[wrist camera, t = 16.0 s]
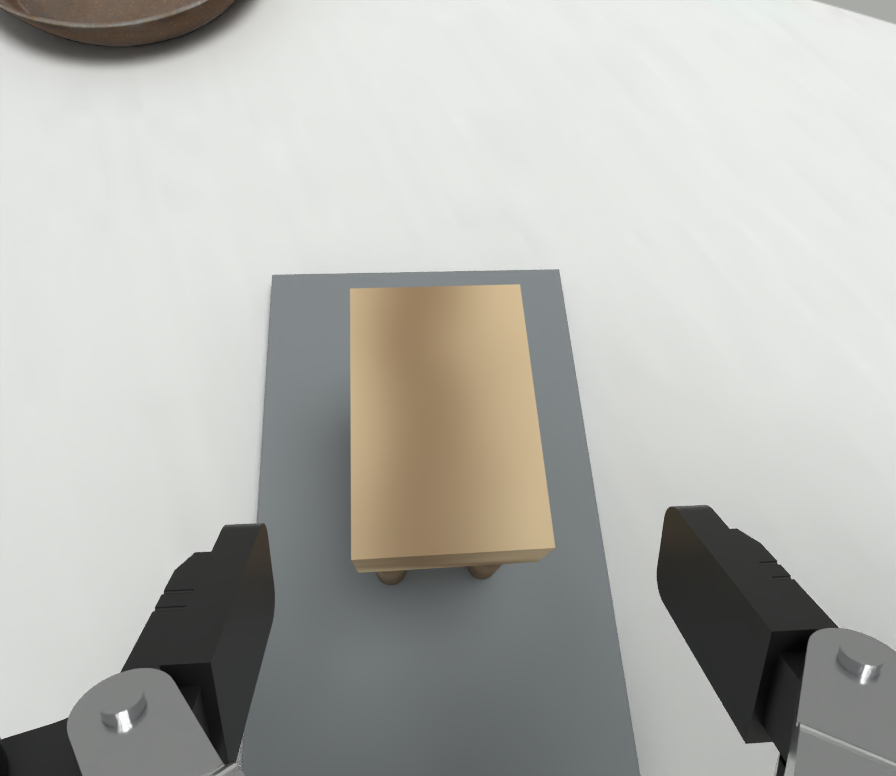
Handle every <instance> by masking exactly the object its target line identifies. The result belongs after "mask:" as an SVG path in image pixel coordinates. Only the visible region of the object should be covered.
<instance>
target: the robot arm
mask: <svg viewBox="0 0 896 776" xmlns="http://www.w3.org/2000/svg"><path fill="white" fill-rule="evenodd" d="M657 584H658V589H659V593H660V596H661V599H662V601H663V603H664V605H665V607H666V608H667V610H668V612H669V614H670V615H671V617H672V619H673V620H674V622H675V624H676V625H677V627H678V629H679V631H680V632H681V634H682V636H683V637H684V639H685V641H686V643H687V644H688V646H689V648H690V649H691V651H692V653H693V654H694V656H695V658H696V660H697V661H698V663H699V665H700V666H701V668H702V670H703V672H704V673H705V675H706V677H707V678H708V680H709V682H710V683H711V685H712V687H713V689H714V690H715V692H716V694H717V695H718V697H719V699H720V700H721V702H722V704H723V706H724V707H725V709H726V711H727V712H728V714H729V716H730V718H731V719H732V721H733V723H734V724H735V726H736V728H737V729H738V731H739V733H740V735H741V736H742V738H743V740H744V741H745V743H746V744H748V743H762V742H773V743H774V744H775V746H776V747H777V749H778V751H779V755H778V759H777V763H776V767H775V773H774V776H896V652H895V651H894V650H893V649H891V648H890V647H888V646H887V645H885V644H884V643H882V642H880V641H878V640H876V639H874V638H872V637H870V636H868V635H865V634H862V633H860V632H856V631H853V630H848V629H842V628H838V627H837V625H836V624H835V623H834V622H833V621H832V620H831V619H830V618H829V617H828V616H827V615H826V614H825V612H824V611H823V610H822V609H821V608H820V607H819V606H818V605H817V604H816V603H815V602H814V601H813V599H812V598H811V597H810V596H809V595H808V594H807V593H806V592H805V591H804V590H803V589H802V588H801V586H800V585H799V584H798V583H797V582H796V581H795V580H794V579H792V580H791V577H790V575H789V573H788V572H787V571H786V570H785V569H784V568H783V567H782V566H781V565H778V564H777V560H776V559H775V558H774V557H773V556H772V555H771V554H770V553H769V552H768V551H767V550H766V549H765V547H764V546H763V545H762V544H761V543H759V542H758V541H756V540H754V539H753V538H751V537H749V536H748V535H746V534H745V533H743V532H741V531H740V530H738V529H729V528H728V526H727V525H726V524H725V523H724V522H723V521H722V520H721V518H720V517H719V516H718V515H717V514H716V513H715V512H714V510H713V509H712V508H711V507H709V506H707V505H698V506H675V507H669V508H668V509H667V511H666V513H665V517H664V524H663V531H662V538H661V545H660V552H659V559H658V566H657ZM274 610H275V588H274V579H273V571H272V563H271V555H270V547H269V539H268V532H267V528H266V525H265V524H264V523H258V524H235V525H225V526H224V527H223V528H222V530H221V532H220V534H219V536H218V539H217V541H216V543H215V545H214V547H213V549H212V552H196V553H194V554H193V555H192V556H191V557H189V558H188V559H187V560H186V561H185V562H184V563H183V564H181V565H180V566H179V567H178V568H177V569H176V570H175V571H174V573H173V574H172V576H171V578H170V580H169V582H168V584H167V586H166V588H165V590H164V594H162V595H161V597H160V599H159V601H158V603H157V605H156V607H155V611H154V612H152V614H151V616H150V618H149V620H148V622H147V624H146V625H145V627H144V629H143V631H142V633H141V635H140V637H139V639H138V640H137V642H136V644H135V646H134V648H133V650H132V652H131V654H130V656H129V657H128V659H127V661H126V663H125V665H124V667H123V669H122V671H121V673H118V674H116V675H113V676H111V677H109V678H107V679H105V680H103V681H102V682H100V683H98V684H97V685H96V686H94V687H93V688H91V689H90V690H89V691H88V692H87V693H85V694H84V695H83V696H82V698H81V699H80V700H79V701H78V702H77V703H76V705H75V706H74V707H73V709H72V711H71V713H70V715H69V717H68V718H66V719H64V720H61V721H58V722H56V723H53V724H50V725H46V726H43V727H40V728H37V729H34V730H30V731H27V732H24V733H21V734H17V735H14V736H11V737H8V738H4V739H1V738H0V776H245V775H244V773H243V772H242V770H241V769H240V767H239V766H238V765H237V764H236V759H237V755H238V751H239V748H240V744H241V740H242V736H243V732H244V729H245V725H246V721H247V717H248V714H249V710H250V706H251V702H252V698H253V695H254V691H255V687H256V683H257V680H258V676H259V672H260V668H261V664H262V661H263V657H264V653H265V649H266V646H267V642H268V638H269V634H270V630H271V627H272V623H273V618H274Z"/></svg>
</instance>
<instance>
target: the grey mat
mask: <svg viewBox="0 0 896 776" xmlns="http://www.w3.org/2000/svg"><path fill="white" fill-rule="evenodd" d="M513 284H520V288H521V295H522V302H523V310H524V317H525V325H526V332H527V340H528V347H529V355H530V362H531V370H532V377H533V385H534V392H535V400H536V407H537V414H538V422H539V429H540V437H541V444H542V452H543V459H544V467H545V474H546V482H547V489H548V497H549V504H550V511H551V519H552V526H553V534H554V541H555V549H553V550H552V551H551V552H550V553H548V554H547V555H546V556H545V557H543V558H542V559H541V560H539V561H538V562H529V563H512V564H502V565H501V566H500V567H499V569H498V570H497V571H496V572H495V573H494V574H493V575H492V576H491V577H489V578H487V579H477V578H475V577H473V576H472V575H471V574H470V572H469V571H468V568H467V566H463V567H447V568H430V569H414V570H407V572H406V575H405V577H404V579H403V580H402V581H401V582H400V583H398V584H395V585H387V584H384V583H383V582H381V581H380V579H379V578H378V576H377V573H376V572H364V573H358V571H357V570H356V568H355V566H354V564H353V562H352V561H351V389H350V289H351V288H392V287H432V286H473V285H513ZM258 523H264V524H265V525H266V528H267V532H268V539H269V547H270V555H271V563H272V571H273V579H274V588H275V610H274V618H273V623H272V627H271V630H270V634H269V638H268V642H267V646H266V649H265V653H264V657H263V661H262V664H261V668H260V672H259V676H258V680H257V683H256V687H255V691H254V695H253V698H252V702H251V706H250V710H249V714H248V717H247V721H246V725H245V729H244V741H243V758H242V772H243V773H244V775H245V776H640V772H639V765H638V759H637V753H636V747H635V740H634V734H633V728H632V722H631V715H630V709H629V703H628V697H627V690H626V684H625V678H624V672H623V666H622V659H621V653H620V647H619V641H618V634H617V628H616V622H615V616H614V609H613V603H612V597H611V591H610V584H609V578H608V572H607V566H606V559H605V553H604V547H603V541H602V535H601V528H600V522H599V516H598V510H597V503H596V497H595V491H594V485H593V478H592V472H591V466H590V460H589V453H588V447H587V441H586V435H585V428H584V422H583V416H582V410H581V404H580V397H579V391H578V385H577V379H576V372H575V366H574V360H573V354H572V347H571V341H570V335H569V329H568V322H567V316H566V310H565V304H564V297H563V291H562V285H561V279H560V273H559V269H558V270H506V271H453V272H400V273H347V274H295V275H272V287H271V303H270V319H269V335H268V352H267V368H266V384H265V400H264V417H263V433H262V449H261V465H260V481H259V498H258V514H257V524H258Z"/></svg>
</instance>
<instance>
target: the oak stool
mask: <svg viewBox="0 0 896 776" xmlns="http://www.w3.org/2000/svg"><path fill="white" fill-rule="evenodd" d="M350 389H351V561H352V562H353V564H354V566H355V568H356V570H357V571H358V573H364V572H376V573H377V576H378V578H379V579H380V581H381V582H383V583H384V584H387V585H395V584H398V583H400V582H401V581H402V580H403V579H404V577H405V575H406V572H407V570H414V569H430V568H447V567H463V566H467V568H468V571H469V572H470V574H471V575H472V576H473V577H475V578H477V579H487V578H489V577H491V576H492V575H493V574H494V573H495V572H496V571H497V570H498V569H499V567H500V566H501V565H502V564H512V563H529V562H538V561H539V560H541V559H542V558H543V557H545V556H546V555H547V554H548V553H550V552H551V551H552V550H553V549H555V541H554V534H553V526H552V519H551V511H550V504H549V497H548V489H547V482H546V474H545V467H544V459H543V452H542V444H541V437H540V429H539V422H538V414H537V407H536V400H535V392H534V385H533V377H532V370H531V362H530V355H529V347H528V340H527V332H526V325H525V317H524V310H523V302H522V295H521V288H520V284H513V285H473V286H432V287H392V288H351V289H350Z"/></svg>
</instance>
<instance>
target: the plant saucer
mask: <svg viewBox="0 0 896 776" xmlns="http://www.w3.org/2000/svg"><path fill="white" fill-rule="evenodd" d="M234 1H235V0H0V8H2V9H3V10H5V11H6V12H8V13H9V14H11V15H13V16H14V17H16V18H18V19H20V20H22V21H24V22H26V23H28V24H30V25H32V26H34V27H36V28H38V29H41V30H43V31H46V32H48V33H51V34H54V35H57V36H60V37H63V38H66V39H69V40H73V41H77V42H81V43H86V44H93V45H102V46H134V45H143V44H149V43H155V42H160V41H164V40H168V39H171V38H175V37H178V36H181V35H183V34H186V33H189V32H191V31H193V30H196V29H197V28H199V27H201V26H203V25H205V24H207V23H208V22H210V21H212V20H213V19H215V18H216V17H217V16H219V15H220V14H221V13H223V12H224V11H225V10H226V9H227V8H228V7H229V6H230V5H231V4H232V3H233V2H234Z"/></svg>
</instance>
